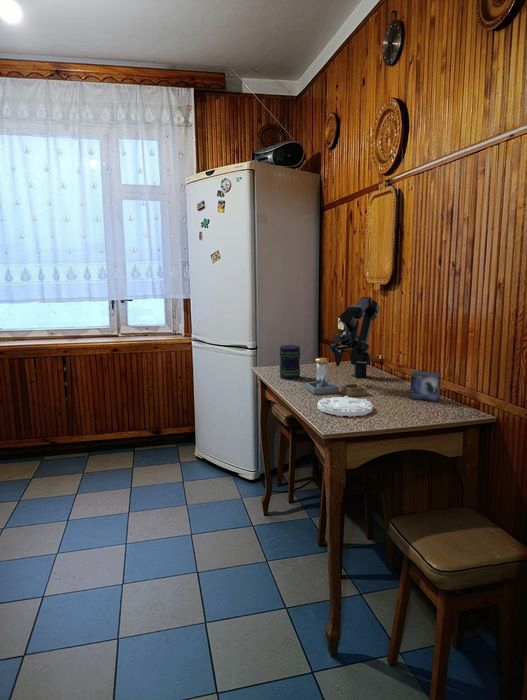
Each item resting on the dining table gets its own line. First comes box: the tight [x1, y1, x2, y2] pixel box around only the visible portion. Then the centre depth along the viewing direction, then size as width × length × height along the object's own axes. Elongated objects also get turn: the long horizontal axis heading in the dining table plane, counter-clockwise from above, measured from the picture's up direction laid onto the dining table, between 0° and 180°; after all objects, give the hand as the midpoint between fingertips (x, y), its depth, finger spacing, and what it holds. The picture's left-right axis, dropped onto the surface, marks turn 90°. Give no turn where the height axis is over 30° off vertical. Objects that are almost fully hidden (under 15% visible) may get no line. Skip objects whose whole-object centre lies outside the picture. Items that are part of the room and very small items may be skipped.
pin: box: [314, 357, 329, 388], centre depth 198 cm, size 5×5×13 cm
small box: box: [409, 370, 442, 403], centre depth 184 cm, size 11×6×10 cm, turn 62°
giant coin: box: [317, 395, 374, 418], centre depth 172 cm, size 20×20×3 cm
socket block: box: [340, 382, 368, 397], centre depth 194 cm, size 8×8×3 cm
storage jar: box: [279, 344, 301, 381], centre depth 223 cm, size 10×10×15 cm
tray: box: [304, 380, 340, 396], centre depth 199 cm, size 11×11×2 cm
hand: (345, 365), depth 203 cm, fingers open, 9 cm apart
